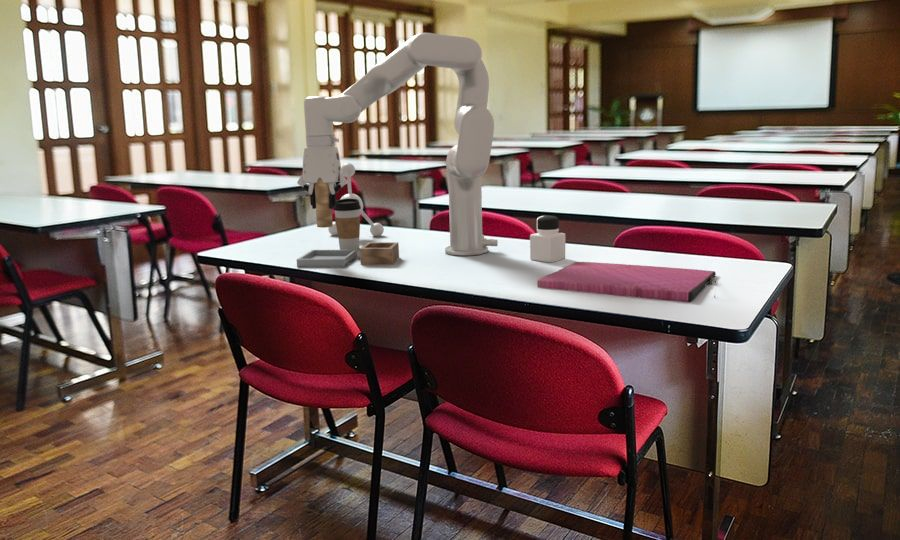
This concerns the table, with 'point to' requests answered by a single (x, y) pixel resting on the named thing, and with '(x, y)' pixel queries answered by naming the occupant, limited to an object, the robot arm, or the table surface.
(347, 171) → the molecular model
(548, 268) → the table surface
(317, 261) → the tray
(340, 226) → the coffee cup
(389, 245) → the shallow tan box
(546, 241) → the medicine bottle
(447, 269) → the table surface
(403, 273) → the table surface
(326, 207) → the dowel
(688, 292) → the maroon flat block
